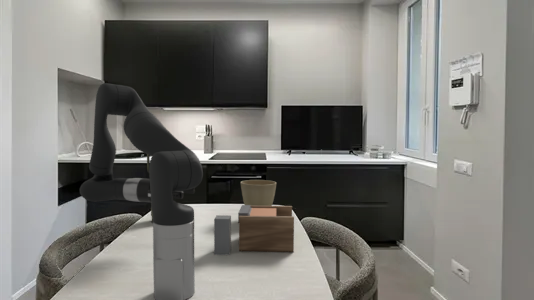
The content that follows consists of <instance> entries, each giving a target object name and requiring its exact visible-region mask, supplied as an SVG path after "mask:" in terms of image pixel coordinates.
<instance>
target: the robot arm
mask: <svg viewBox="0 0 534 300" xmlns="http://www.w3.org/2000/svg"><path fill="white" fill-rule="evenodd" d="M94 103H95V105H94V106H95V108H94V119H93V120H94V121H93V123H94V124H93V144H92V148H91V149H92V150H91V155H90V160H89V163H88V164H89V166H88V168H89V171H90V172H91V173H92V174H94V175H93V177H91V178H89V179H87V180H85V181H84V182H83V183H81V185H80V187H79V194H80V195H81V197H82V198H83V199H84V200H86V201H89V202H94V203H96V202H105V201H112V200H121V201H130V202H139V203H150V205H151V207H150V209H151V208H152V214H153V223H152V241H153V242H152V249H153V251H152V252H153V253H152V254H153V256H152V257H153V259H152V263H153V264H152V265H153V267H152V268H153V273H152V274H153V296H154V300H187V299H189V298H191V297H192V296H193V295H194V294H195V279H196V278H195V276H196V275H195V209H194V208H193V207H192V206H190V205H188V204H185V203H180V202H177V201H175V200H174V199H177V200H179V199H180V200H182V199H184V194H189V195H192V194H195V192H196V190H195V188H197V187H198V186H199V185H200V184H201V183H202V181H203V177H204V172H203V166H202V163H201V161H200V159H199V157H198V156H197V154H196V153H195V152H194V151H193V150H192V149H190V148H189V147H188V146H186V145H185V144H184V143H183V142H182V141H180V140H178V138H176V137H175V136H174V135H173V134H172V133H171V132H170V131H169V130H168V129H167V128H166V127H165V126H164V125H163V123H162V122H161V121H160V120H159V119H158V118H157V116H156V115H155V114H154V113H152V112H151V111H150V110H149V108H148V107H147V106H146V104H145V103H144V102H143V100H142V98H141V97H140V96H139V93H137V91H136V90H135V89H134V88H133V87H131V86H128V85H122V84H115V83H107V82H104V83H102V84H100V85H99V87H98V88H97V91H96V96H95V102H94ZM108 115H109V116H121V117H125V119H124V121H123V132H124V134H125V135H126V137H127V138H128V139H129V141H130V143H131V145H133V147H135V148H136V149H137V150H138V151H140V152H142V153H144V154H146V155H147V154H148V155H149V156H151V158H150V165H149V173H148V174H149V176H148V177H149V178H146V177H145V178H143V177H142V178H141V177H133V178H127V177H126V178H125V177H118V178H117V177H116V178H114V171H113V167H114V165H115V164H114V163H115V159H116V155H117V154H116V153H117V149H116V143H115V141H114V139H113V137H112V135H111V133H110V131H109V128H108V124H107V123H108V122H107V121H108Z"/></svg>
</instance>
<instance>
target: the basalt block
mask: <svg viewBox="0 0 534 300" xmlns="http://www.w3.org/2000/svg"><path fill="white" fill-rule="evenodd" d="M213 223H214V226H213V228H214V229H213V230H214V234H213V235H214V237H213V239H214V241H213V242H214V244H213V245H214V246H213V247H214V248H213V249H214V252H213V253H214V255H217V256H218V255H219V256H223V255H224V256H225V255H226V256H229V255H230V253H231V251H232V215H226V214H225V215H224V214H223V215H220V214H219V215H216V216H214V221H213Z"/></svg>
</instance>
